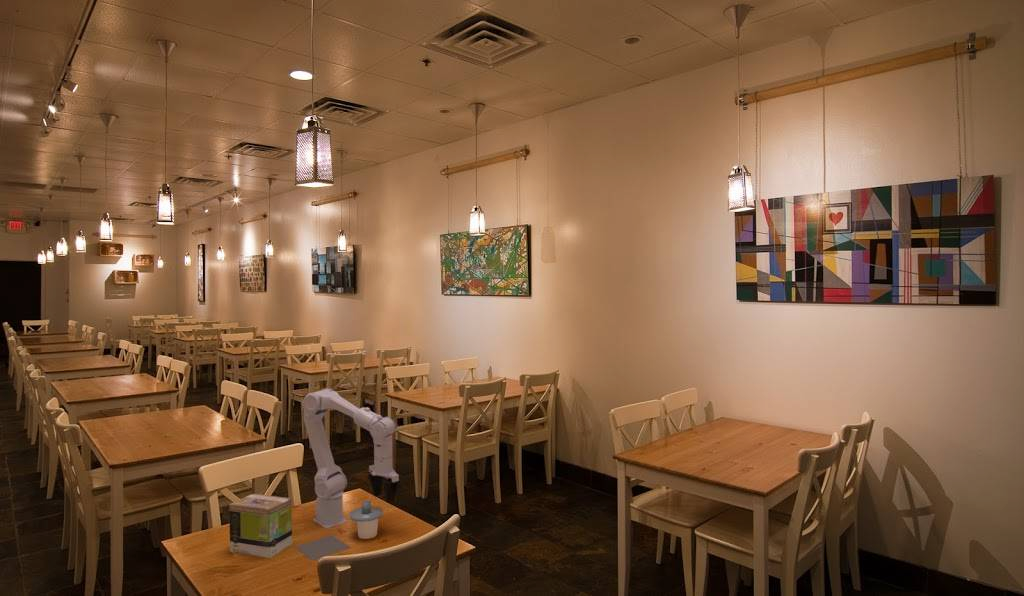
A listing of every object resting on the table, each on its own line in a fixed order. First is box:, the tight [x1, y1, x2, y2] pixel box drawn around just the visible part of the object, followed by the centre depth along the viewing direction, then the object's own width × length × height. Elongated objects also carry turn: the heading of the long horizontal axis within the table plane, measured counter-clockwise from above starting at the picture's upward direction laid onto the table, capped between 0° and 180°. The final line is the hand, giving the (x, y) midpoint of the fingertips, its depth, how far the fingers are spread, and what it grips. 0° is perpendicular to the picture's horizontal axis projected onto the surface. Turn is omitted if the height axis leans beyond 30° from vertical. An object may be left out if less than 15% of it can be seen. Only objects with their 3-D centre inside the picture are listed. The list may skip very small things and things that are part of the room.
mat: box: [294, 534, 351, 561], centre depth 172 cm, size 12×12×1 cm
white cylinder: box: [356, 518, 379, 540], centre depth 180 cm, size 7×7×7 cm
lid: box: [349, 500, 384, 522], centre depth 180 cm, size 10×10×4 cm
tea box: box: [228, 493, 293, 559], centre depth 172 cm, size 15×10×15 cm, turn 71°
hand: (383, 498), depth 184 cm, fingers open, 7 cm apart
